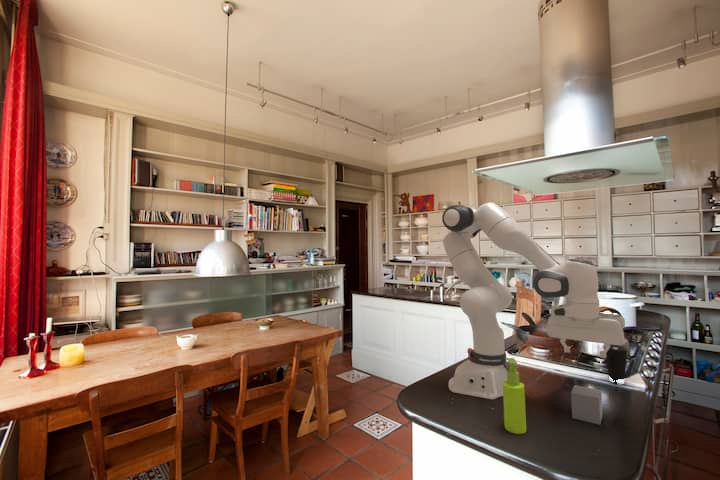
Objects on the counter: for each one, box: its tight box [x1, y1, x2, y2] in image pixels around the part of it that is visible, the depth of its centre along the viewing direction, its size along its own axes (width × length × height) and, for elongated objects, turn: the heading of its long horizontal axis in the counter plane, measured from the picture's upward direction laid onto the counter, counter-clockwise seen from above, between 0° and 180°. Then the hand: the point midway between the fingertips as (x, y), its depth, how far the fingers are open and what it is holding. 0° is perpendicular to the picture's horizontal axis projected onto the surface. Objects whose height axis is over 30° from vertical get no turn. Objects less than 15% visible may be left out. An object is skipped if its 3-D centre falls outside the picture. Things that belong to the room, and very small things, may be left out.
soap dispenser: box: [502, 357, 527, 435], centre depth 102 cm, size 6×7×20 cm
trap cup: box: [570, 384, 603, 426], centre depth 107 cm, size 7×7×8 cm
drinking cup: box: [602, 344, 629, 386], centre depth 131 cm, size 8×8×20 cm
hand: (584, 354), depth 107 cm, fingers open, 8 cm apart
